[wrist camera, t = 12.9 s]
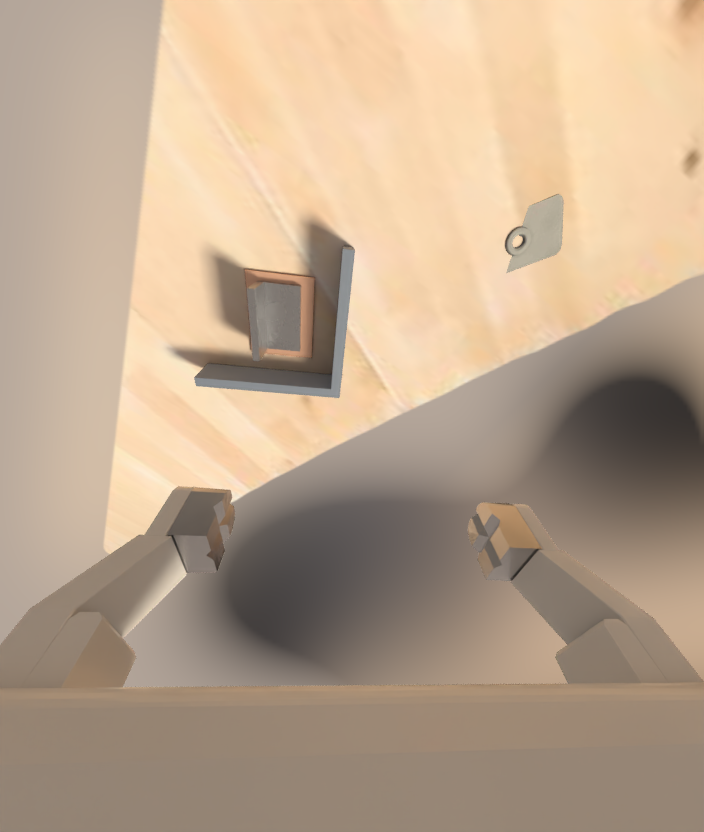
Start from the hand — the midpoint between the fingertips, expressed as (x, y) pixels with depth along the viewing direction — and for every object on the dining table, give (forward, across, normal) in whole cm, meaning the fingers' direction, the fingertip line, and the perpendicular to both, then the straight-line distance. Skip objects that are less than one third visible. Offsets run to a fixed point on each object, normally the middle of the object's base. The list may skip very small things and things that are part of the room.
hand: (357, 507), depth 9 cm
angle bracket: (+31, +8, +3) cm, 32 cm away
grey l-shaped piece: (+31, +9, +3) cm, 32 cm away
